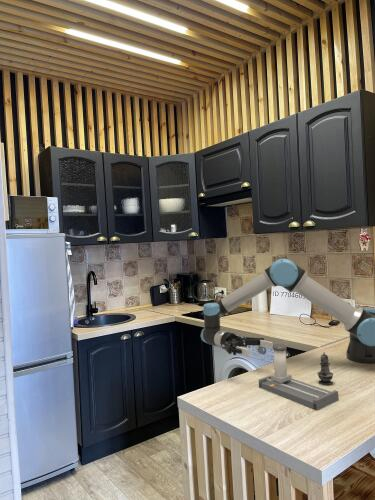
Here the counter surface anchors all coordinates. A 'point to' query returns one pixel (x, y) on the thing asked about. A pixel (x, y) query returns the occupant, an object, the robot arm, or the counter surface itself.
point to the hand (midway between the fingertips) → (260, 349)
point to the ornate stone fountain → (325, 371)
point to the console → (300, 392)
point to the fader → (280, 364)
